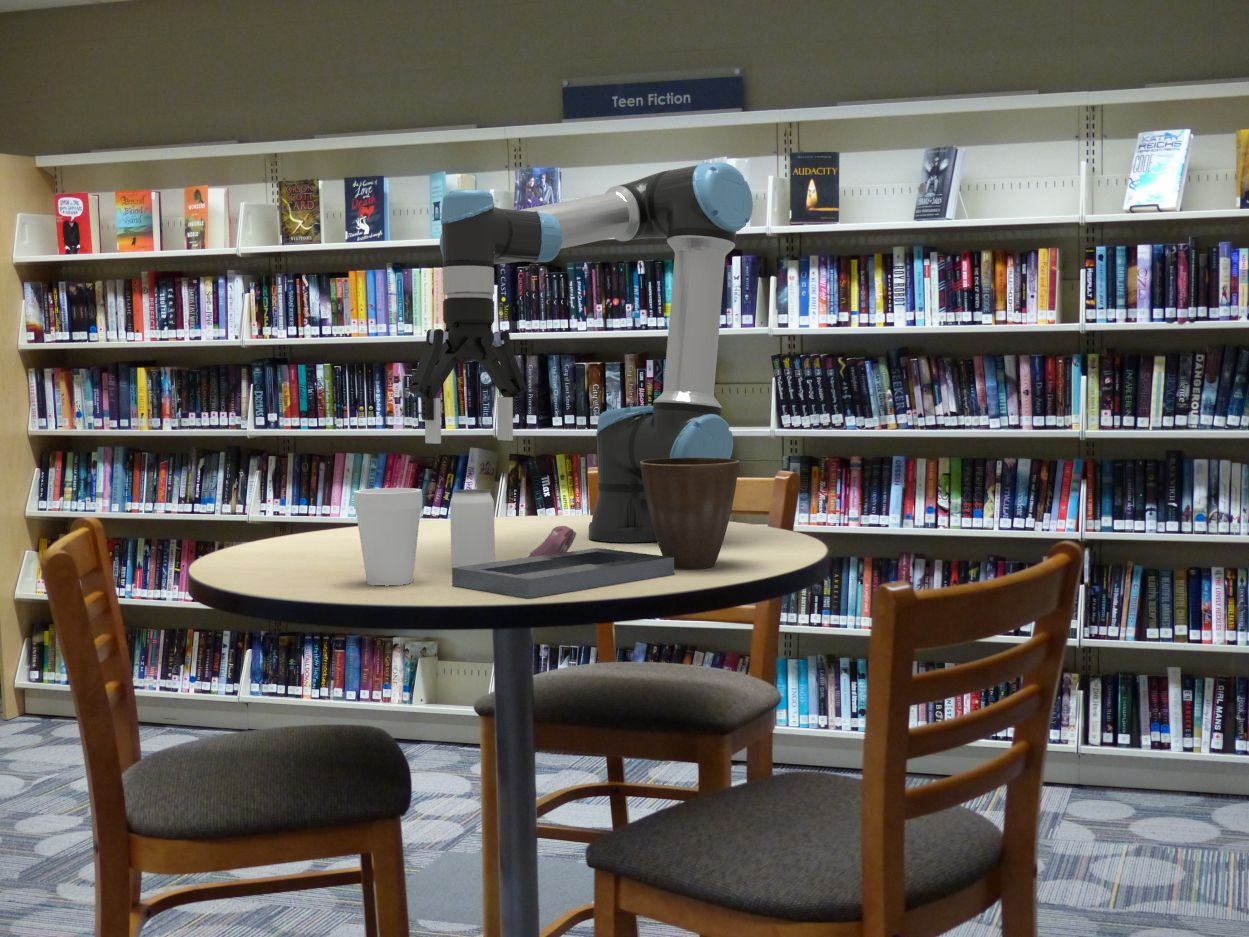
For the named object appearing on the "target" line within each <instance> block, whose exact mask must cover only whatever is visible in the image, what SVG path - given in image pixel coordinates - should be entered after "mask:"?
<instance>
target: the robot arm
mask: <svg viewBox="0 0 1249 937" xmlns="http://www.w3.org/2000/svg"><path fill="white" fill-rule="evenodd" d="M753 205H754V201H753V195H752V191H751V189H750V184H748V181H746V180H745V177H744V175H743V173H742V172H741V171H740V170H739V169H737V168H736V167H735V166H733V165H732V164H729V163H727V162H723V161H722V162H721V161H720V162H703V163H699V164H697V165H692V166H691V165H690V166H687V167H686V166H685V167H681V168H675V169H671V170H670V169H668V170H664V171H660V172H656V173H654V174H651V175H647V176H645V177H642V178H640V179H636V180H634V181H630V182H627V183H623V184H618V185H614V186H610V187H609V188H608V189H607V190H606V191H605V193H603V194H597V195H593V196H592V195H591V196H586V197H582V198H581V197H580V198H577V199H571V200H564V201H559V202H554V203H549V204H544V205H539V206H533V207H528V208H523V209H507V208H500V207H496V206H495V202H494V196H493V194H492V193H491V192H490V191H488V190H487V191H485V190H483V189H471V188H470V189H467V188H466V189H454V190H450V191H448V192H446V193H445V194H444V195H443V197H442V205H441V220H440V224H441V234H440V237H439V247H440V248H439V249H440V253H441V255H442V294H443V295H444V296H446V298H444V299H443V301H442V321H443V323H444V325H445V329H444V330H443V329H441V328H434V329H432V328H431V329H430V328H429V329H427V331H426V339H425V346H424V348H423V351H422V353H421V356H420V359H419V361H418V364H417V366H416V369H415V371H414V373H413V377H412V378H411V382H410V384H409V386H408V392H409V393H410V394H414V395H415V396H416V398H418V399H419V398H420V403H421V404H420V408H421V409H420V412H421V413H420V416H421V417H420V418H421V420H422V421H424V423H425V424H424V434H425V435H424V436H425V437H424V439H425V440H424V441H425V442H424V443H425V444H439V445H440V444H442V429H441V428H442V422H441V421H442V419H441V418H442V414H441V413H442V410H441V397H436V396H437V394H438V392H439V391H440V390H441V388H442V386H443V385H444V384H445V382H446V380H447V379H448V377H449V376H450V374H451V373H452V372H453V370H454V368H455V367H456V365H457V364H458V363H460V362H467V361H468V362H471V361H472V362H478V363H479V364H480V365H481V366H482V368H484V370H485V372H486V374H487V375H488V376H489V378H490V379H491V380H492V382H493V384H494V385H495V387H496V388H497V390H498V391H499V393H500V395H501V396H498V397H497V398H496V399H497V400H496V406H497V408H496V411H497V412H496V413H497V419H496V421H497V424H496V425H497V441H509V442H510V441H513V440H514V421H513V419H515V418H516V415H517V413H516V412H517V411H516V407H517V406H516V398H520V396H521V395H522V393H525V392H526V391H527V385H526V383H525V379H524V377H523V374H522V373H521V372H522V371H521V369H520V367H519V364H518V361H517V359H516V357H515V354H514V351H513V349H512V346H511V337H510V335H511V334H510V333H509V331H507V330H503V331H501V330H500V331H494V332H493V329H492V328H493V327H492V326H493V324H494V323H495V300H494V299H492V298H491V296H493V295H494V294H495V265H501V264H511V263H518V262H531V263H533V264H536V263H548V262H552V261H553V260H554V259H555V258H556V257H557V256H558V254H559V252H560V251H561V250H562V249H567V248H571V247H577V246H580V245H584V244H589V243H594V242H598V241H605V240H609V239H614V240H616V241H619V242H627V241H633V240H634V241H635V240H641V239H642V240H644V239H666V243H667V244H668V245H669V246H670V248H671V249H672V250H673V252H674V262H673V270H672V272H673V273H672V282H671V283H672V284H671V295H670V296H671V297H670V308H669V322H668V330H667V331H668V332H667V342H666V343H667V344H666V353H665V354H666V355H665V368H664V379H663V380H664V381H663V391H662V393H661V394H660V395H658V397H656V398H655V399H654V400H653V405H641V406H640V405H638V406H631V407H621V408H613V409H609V410H605V411H602V412H601V414H599V415H598V418H597V428H596V430H597V431H596V433H595V434H596V455H597V456H596V457H597V458H596V459H597V462H596V464H597V466H596V467H597V497H596V500H595V505H594V508H593V513H592V519H591V522H589V524H588V538H589V540H591V541H598V542H609V543H647V542H649V543H650V542H657V539H656V535H655V532H654V529H653V525H652V522H651V518H650V514H649V510H648V505H647V501H646V496H645V490H644V485H643V479H642V472H641V465H640V462H641V461H643V460H650V459H663V458H727V459H732V458H731V457H732V454H733V449H734V437H733V436H734V435H733V433H732V430H730V425H729V424H728V422H727V421H726V420H725V419H724V418H722V411H723V410H722V409H723V408H722V407H723V406H722V405H721V404H720V403H719V401H718V400H717V399H716V397H715V384H716V373H717V372H716V371H717V359H718V348H719V336H720V324H721V310H722V298H723V287H724V278H725V277H724V276H725V274H724V273H725V265H726V264H725V262H726V256H727V255H728V254H729V253H730V252H731V251H732V250H733V249H735V247H736V238H737V232H739V231H741V230H742V229H743V228H744V227H746V226H747V223H749V221H750V220H751V217H752V214H753V207H754V206H753ZM444 343H445V344H446V348H445V349H444V351H443V352H442V348H443V345H444ZM492 346H494V347H493V348H494V350H493V348H492ZM441 352H442V353H441ZM440 354H441V355H440ZM439 357H440V360H439ZM438 360H439V361H438ZM437 362H438V363H437Z"/></svg>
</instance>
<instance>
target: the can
mask: <svg viewBox="0 0 1249 937" xmlns="http://www.w3.org/2000/svg"><path fill="white" fill-rule="evenodd" d="M491 492H492V491H491V489H484V488H481V489H480V488H479V489H478V488H470V489H469V488H467V489H456V490H455V489H454V490H453V491H452V493H453V495H452V497H451V499H450V504H449V505H450V506H449V508H450V511H449V512H450V514H449V515H450V555H451V556H450V560H451V561H450V562H451V563H450V564H451V569H452V568H454V567H461V566H469V565H476V564H483V563H491V562H496V544H495V543H496V541H495V540H496V538H495V535H496V533H495V530H496V529H495V501H494V499H493V497H492V496H493V495H492V494H491Z"/></svg>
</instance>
